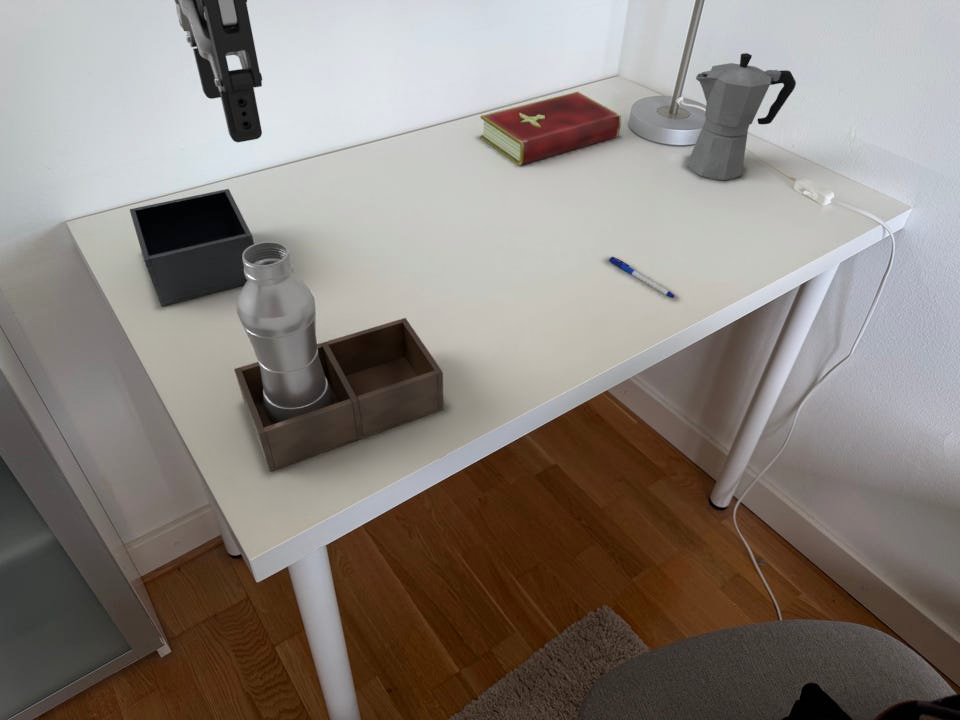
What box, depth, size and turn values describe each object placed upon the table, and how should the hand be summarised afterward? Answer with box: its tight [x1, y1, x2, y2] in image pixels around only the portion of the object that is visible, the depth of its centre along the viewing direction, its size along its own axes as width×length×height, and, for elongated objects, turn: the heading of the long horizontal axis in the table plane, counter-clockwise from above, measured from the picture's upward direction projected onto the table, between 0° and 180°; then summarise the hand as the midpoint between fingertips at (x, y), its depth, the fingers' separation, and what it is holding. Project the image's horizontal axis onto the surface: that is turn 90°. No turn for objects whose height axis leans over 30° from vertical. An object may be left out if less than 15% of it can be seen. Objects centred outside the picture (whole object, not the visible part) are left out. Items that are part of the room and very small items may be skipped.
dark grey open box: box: [129, 188, 255, 307], centre depth 86 cm, size 12×12×7 cm
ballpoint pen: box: [608, 256, 675, 299], centre depth 89 cm, size 10×1×1 cm, turn 42°
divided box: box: [233, 317, 444, 472], centre depth 69 cm, size 18×9×5 cm, turn 118°
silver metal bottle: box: [236, 241, 334, 424], centre depth 63 cm, size 6×7×20 cm
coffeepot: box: [686, 52, 797, 181], centre depth 106 cm, size 15×9×18 cm, turn 93°
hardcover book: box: [479, 91, 622, 167], centre depth 117 cm, size 12×21×4 cm, turn 123°
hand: (232, 116), depth 53 cm, fingers open, 8 cm apart
